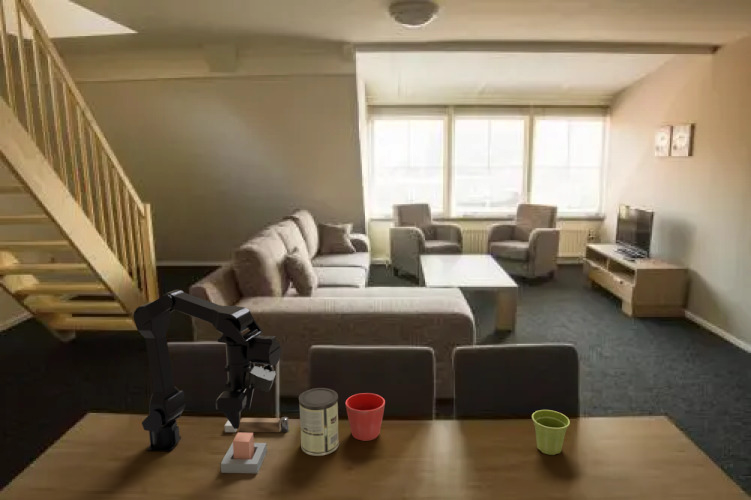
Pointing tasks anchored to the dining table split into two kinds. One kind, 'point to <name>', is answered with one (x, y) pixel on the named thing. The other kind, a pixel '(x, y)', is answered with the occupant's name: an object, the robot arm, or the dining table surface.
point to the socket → (244, 460)
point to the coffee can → (319, 421)
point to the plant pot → (550, 430)
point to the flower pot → (365, 415)
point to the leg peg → (243, 446)
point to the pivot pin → (284, 424)
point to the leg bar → (259, 424)
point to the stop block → (229, 427)
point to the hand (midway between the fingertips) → (242, 418)
